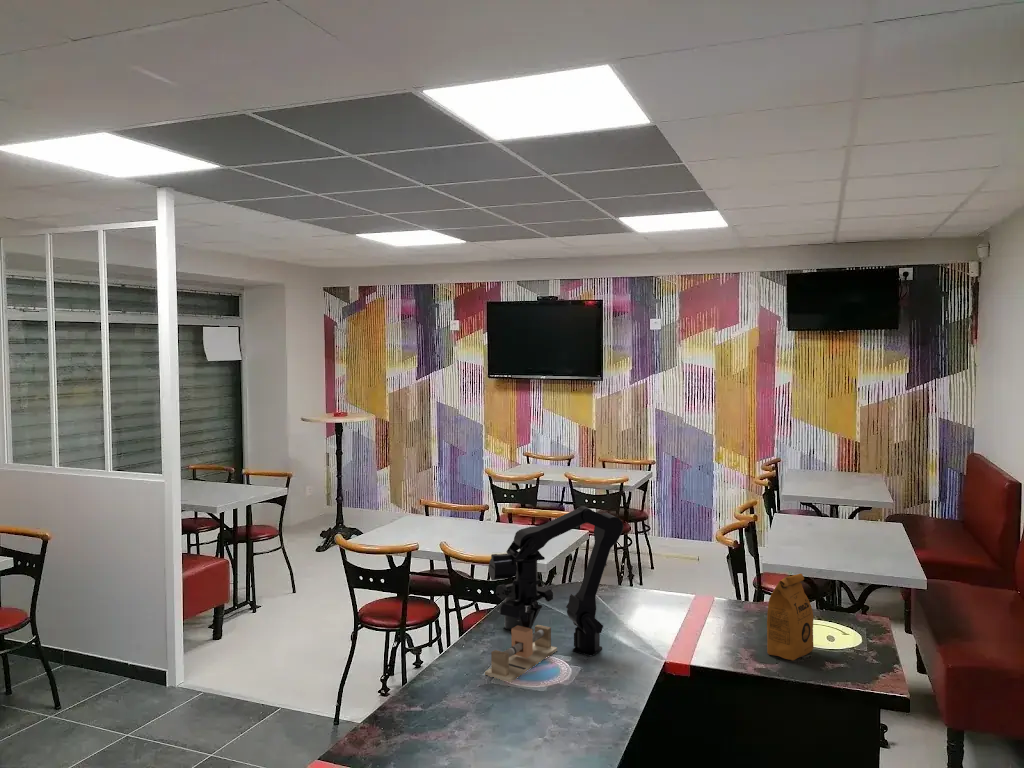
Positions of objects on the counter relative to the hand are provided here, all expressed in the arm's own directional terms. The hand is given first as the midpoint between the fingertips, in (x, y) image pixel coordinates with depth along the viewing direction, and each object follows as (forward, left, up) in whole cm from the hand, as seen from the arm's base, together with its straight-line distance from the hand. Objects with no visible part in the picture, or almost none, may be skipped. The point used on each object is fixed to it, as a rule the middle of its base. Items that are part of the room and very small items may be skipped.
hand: (527, 632), depth 202 cm
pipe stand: (0, +3, -8) cm, 8 cm away
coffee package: (-60, -42, -8) cm, 74 cm away
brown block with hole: (0, +3, -5) cm, 6 cm away
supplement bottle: (+16, -18, -8) cm, 26 cm away
